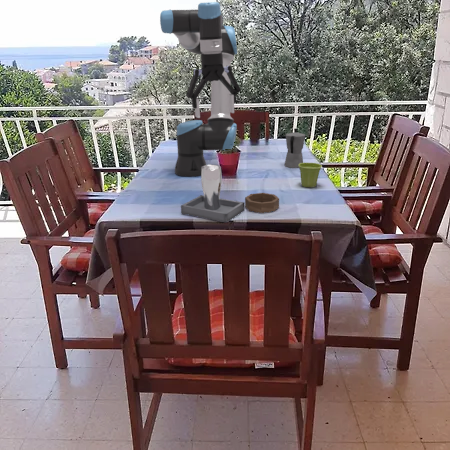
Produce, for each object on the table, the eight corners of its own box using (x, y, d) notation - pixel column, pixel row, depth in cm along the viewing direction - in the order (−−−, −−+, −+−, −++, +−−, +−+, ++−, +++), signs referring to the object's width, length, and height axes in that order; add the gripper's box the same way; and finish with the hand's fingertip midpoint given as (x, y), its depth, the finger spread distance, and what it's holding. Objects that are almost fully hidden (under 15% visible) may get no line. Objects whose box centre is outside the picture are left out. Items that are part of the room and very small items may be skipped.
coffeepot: (287, 162, 216) (288, 125, 210) (305, 163, 213) (308, 126, 207) (280, 169, 203) (281, 131, 196) (300, 171, 200) (302, 132, 193)
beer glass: (220, 212, 147) (219, 170, 142) (200, 212, 149) (198, 169, 143) (223, 206, 154) (223, 164, 148) (204, 205, 155) (203, 164, 149)
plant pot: (307, 181, 185) (308, 161, 182) (325, 185, 178) (326, 165, 175) (292, 185, 179) (293, 165, 176) (310, 190, 173) (312, 169, 170)
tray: (181, 213, 150) (180, 205, 149) (201, 202, 160) (201, 195, 159) (226, 222, 142) (226, 214, 141) (244, 210, 152) (244, 202, 151)
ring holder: (240, 209, 153) (240, 200, 152) (254, 200, 162) (254, 191, 161) (269, 214, 148) (270, 205, 147) (282, 204, 157) (282, 195, 156)
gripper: (180, 56, 141) (186, 121, 151) (248, 50, 150) (250, 112, 159) (173, 54, 147) (179, 117, 157) (239, 49, 156) (241, 108, 166)
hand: (215, 114), depth 158 cm, fingers open, 13 cm apart
